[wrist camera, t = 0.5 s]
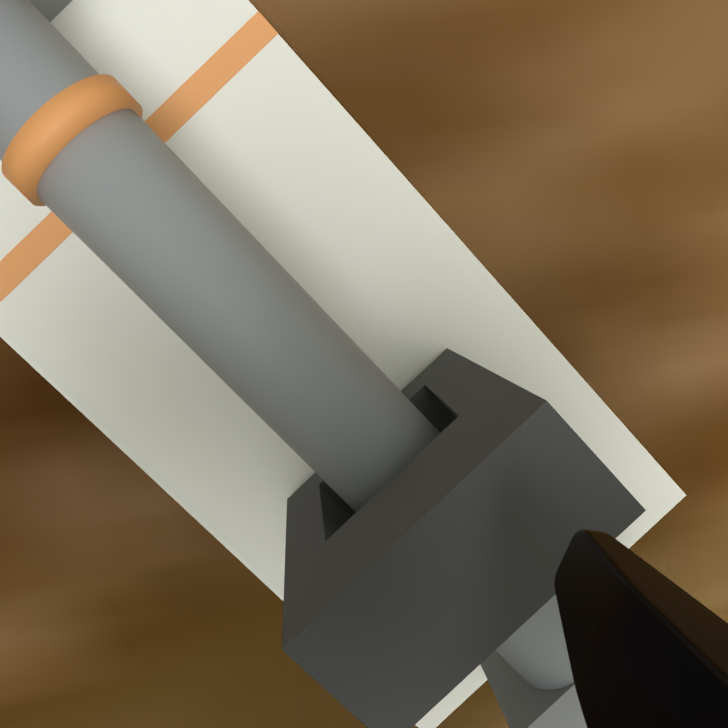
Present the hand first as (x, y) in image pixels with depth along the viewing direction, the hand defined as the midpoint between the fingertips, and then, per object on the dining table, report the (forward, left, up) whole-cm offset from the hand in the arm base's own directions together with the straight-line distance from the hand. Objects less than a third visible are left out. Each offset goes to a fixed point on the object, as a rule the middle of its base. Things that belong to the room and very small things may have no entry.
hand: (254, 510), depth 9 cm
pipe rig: (0, -1, -13) cm, 13 cm away
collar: (-5, -1, -12) cm, 13 cm away
